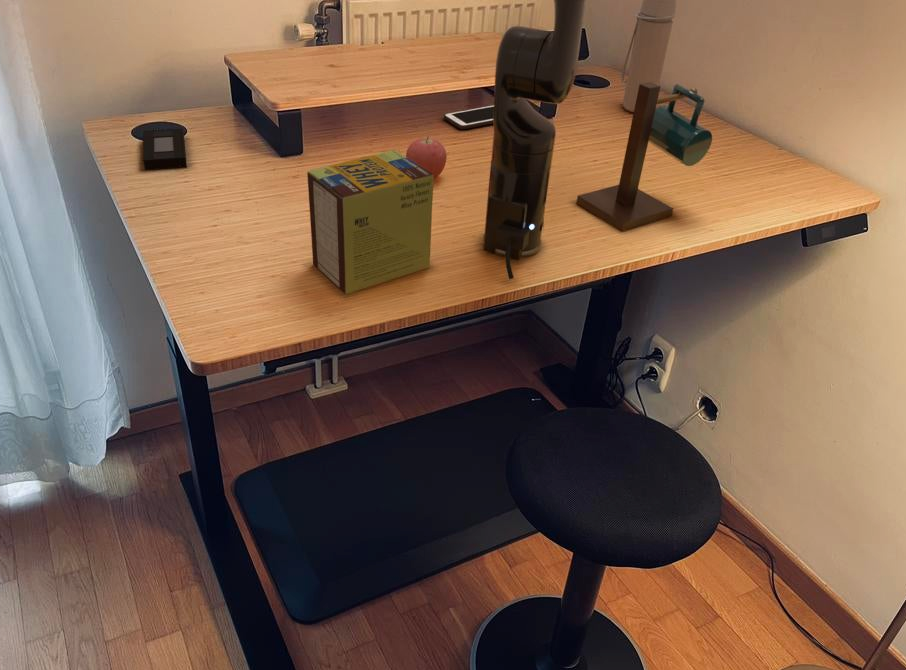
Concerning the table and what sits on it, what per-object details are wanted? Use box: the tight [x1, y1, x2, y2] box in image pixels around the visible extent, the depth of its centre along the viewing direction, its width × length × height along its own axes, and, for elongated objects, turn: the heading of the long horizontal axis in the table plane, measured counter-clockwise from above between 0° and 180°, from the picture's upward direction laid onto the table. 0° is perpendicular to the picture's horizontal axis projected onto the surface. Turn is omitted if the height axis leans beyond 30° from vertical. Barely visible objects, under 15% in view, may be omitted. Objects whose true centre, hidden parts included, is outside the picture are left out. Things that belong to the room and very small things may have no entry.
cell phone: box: [443, 104, 494, 130], centre depth 172 cm, size 8×15×1 cm, turn 121°
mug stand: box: [575, 82, 699, 232], centre depth 135 cm, size 18×12×22 cm
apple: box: [405, 135, 448, 180], centre depth 145 cm, size 7×7×8 cm
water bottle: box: [621, 0, 677, 114], centre depth 174 cm, size 9×8×25 cm
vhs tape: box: [142, 128, 188, 171], centre depth 151 cm, size 8×14×2 cm, turn 16°
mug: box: [648, 83, 713, 167], centre depth 134 cm, size 11×6×10 cm
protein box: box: [306, 149, 435, 295], centre depth 117 cm, size 10×15×16 cm
